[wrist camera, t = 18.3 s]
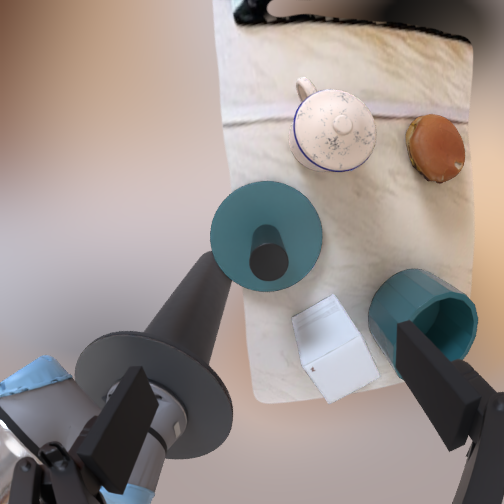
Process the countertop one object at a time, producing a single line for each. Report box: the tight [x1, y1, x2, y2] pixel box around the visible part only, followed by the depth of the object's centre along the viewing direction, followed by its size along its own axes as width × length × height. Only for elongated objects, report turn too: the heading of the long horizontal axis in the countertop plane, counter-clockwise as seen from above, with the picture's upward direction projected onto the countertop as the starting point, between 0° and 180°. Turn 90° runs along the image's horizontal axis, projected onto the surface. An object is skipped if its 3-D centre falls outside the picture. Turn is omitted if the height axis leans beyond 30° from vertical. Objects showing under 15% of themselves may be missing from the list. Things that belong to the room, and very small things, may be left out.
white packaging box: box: [291, 294, 381, 404], centre depth 37 cm, size 7×7×13 cm
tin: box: [368, 269, 478, 380], centre depth 37 cm, size 14×14×10 cm
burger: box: [406, 114, 465, 183], centre depth 35 cm, size 10×9×5 cm
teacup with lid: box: [289, 77, 376, 172], centre depth 31 cm, size 12×9×12 cm
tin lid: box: [210, 181, 322, 292], centre depth 34 cm, size 15×15×13 cm
